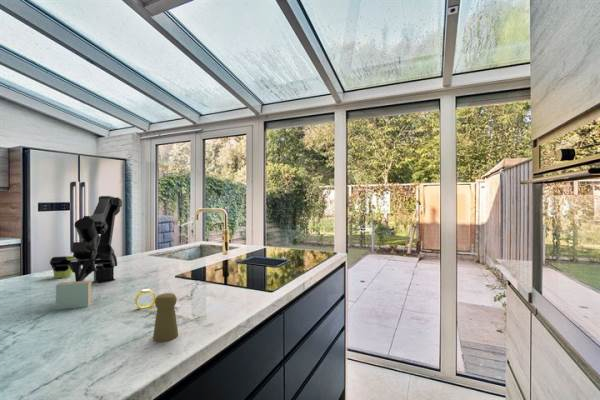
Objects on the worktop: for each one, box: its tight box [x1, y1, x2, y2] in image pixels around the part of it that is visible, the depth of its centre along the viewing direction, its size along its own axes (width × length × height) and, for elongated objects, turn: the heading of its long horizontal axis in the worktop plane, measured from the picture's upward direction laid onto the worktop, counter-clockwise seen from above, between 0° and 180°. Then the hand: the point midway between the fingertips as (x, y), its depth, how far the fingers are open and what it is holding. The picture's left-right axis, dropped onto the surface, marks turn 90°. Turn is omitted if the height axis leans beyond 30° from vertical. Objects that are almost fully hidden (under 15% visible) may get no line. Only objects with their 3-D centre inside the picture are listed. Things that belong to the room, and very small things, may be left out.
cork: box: [152, 292, 179, 343], centre depth 80 cm, size 6×6×11 cm
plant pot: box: [49, 255, 74, 279], centre depth 141 cm, size 9×9×9 cm
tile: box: [55, 280, 92, 310], centre depth 102 cm, size 3×9×8 cm, turn 108°
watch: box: [134, 288, 157, 310], centre depth 101 cm, size 6×3×6 cm, turn 127°
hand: (77, 283), depth 105 cm, fingers closed
